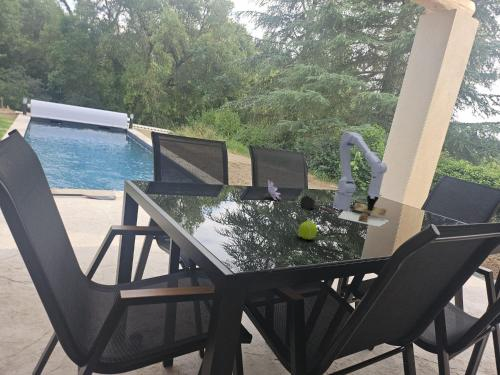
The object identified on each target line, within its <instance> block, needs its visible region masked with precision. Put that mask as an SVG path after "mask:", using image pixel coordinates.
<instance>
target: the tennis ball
mask: <svg viewBox="0 0 500 375" xmlns="http://www.w3.org/2000/svg"><path fill="white" fill-rule="evenodd" d="M298 233H299V236H300V237H301V238H302V239H304V240H307V239H308V240H307V241H309V240H313V238H315V237H316V236H317V234H318V227H317V225H316V224H315V223H314V222H312V221H310V220H309V221H308V220H307V221H304V222H302V223H301V224H300V225H299V226H298Z"/></svg>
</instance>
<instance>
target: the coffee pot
mask: <svg viewBox="0 0 500 375" xmlns="http://www.w3.org/2000/svg"><path fill="white" fill-rule="evenodd" d="M299 204H300V207H301V208H302V209H303V210H306V211H307V210H311V209H313V208H315V207H317V208H318V209H321V210H324V211H325V212H330V213H336V211H335V210H333V209H331V208H327V207H324V206H321V205H320V204H316V200H315V199H314V198H312V197H311V196H310V195H304V196H302V197H301V198H300V201H299Z"/></svg>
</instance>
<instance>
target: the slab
mask: <svg viewBox="0 0 500 375" xmlns="http://www.w3.org/2000/svg"><path fill="white" fill-rule="evenodd" d="M360 215H362V213H357V212H354V211H353V212H352V211H348V210H342V212H340V213H339V215H338V216H337V218H338V219H343V220H346V221H351V222H357V223H359V224H365V225H368V226H372V227H373V226H374V227H377V226H378V227H379V226H381V225H383V224H385V223H386V222H388V223H389V219H386V218H385V219H384V218H380V217H376V216H372V215H367V216H368V220H367V223H366V222H361V221H359V217H360ZM379 228H380V227H379Z"/></svg>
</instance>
